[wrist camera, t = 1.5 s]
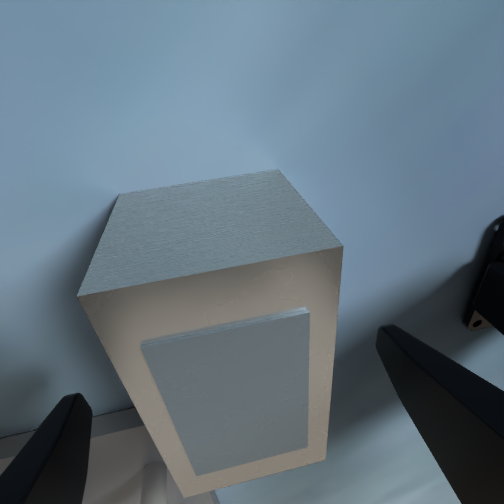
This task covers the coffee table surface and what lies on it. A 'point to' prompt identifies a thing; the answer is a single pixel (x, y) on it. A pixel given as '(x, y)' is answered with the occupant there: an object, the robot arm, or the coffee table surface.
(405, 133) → the coffee table surface
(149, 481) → the pegged base plate
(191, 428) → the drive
